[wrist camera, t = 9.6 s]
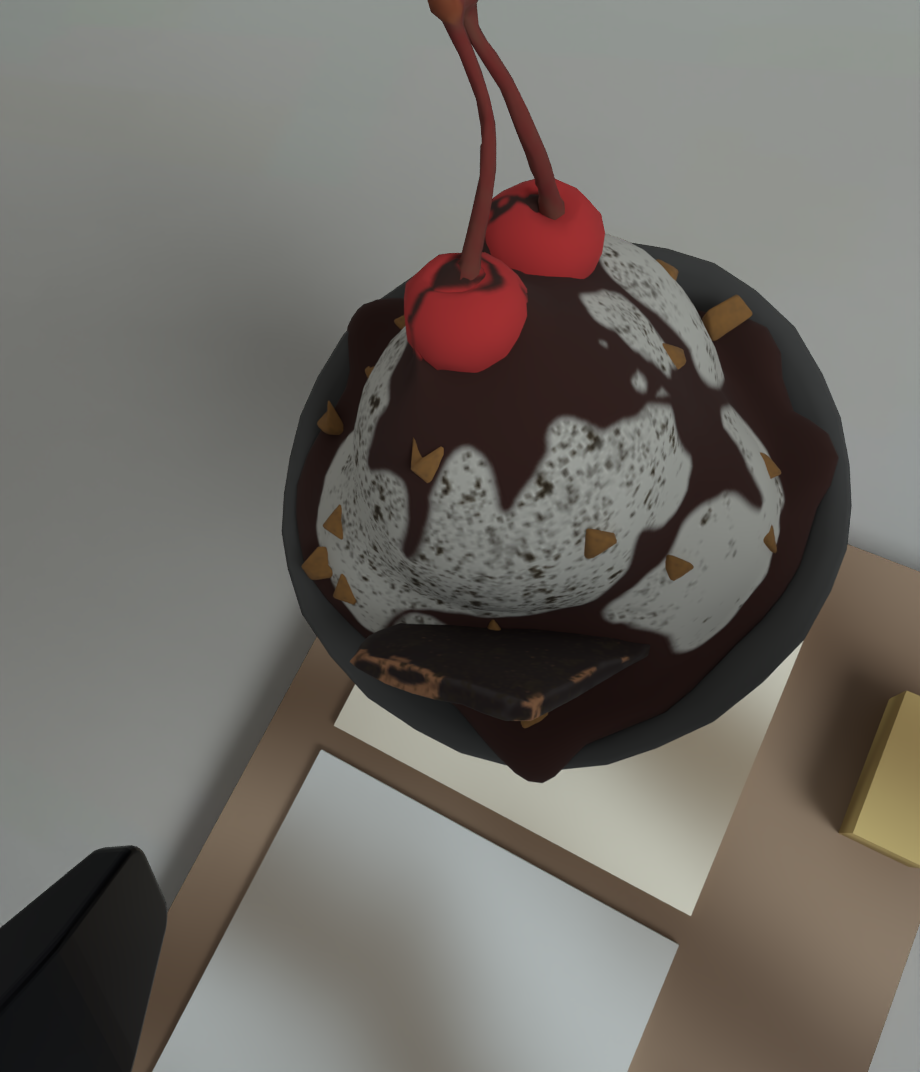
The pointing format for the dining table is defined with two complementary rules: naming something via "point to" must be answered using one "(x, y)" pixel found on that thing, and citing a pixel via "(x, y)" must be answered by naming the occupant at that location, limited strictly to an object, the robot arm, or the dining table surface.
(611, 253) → the sundae
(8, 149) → the dining table surface
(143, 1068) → the board
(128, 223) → the dining table surface
